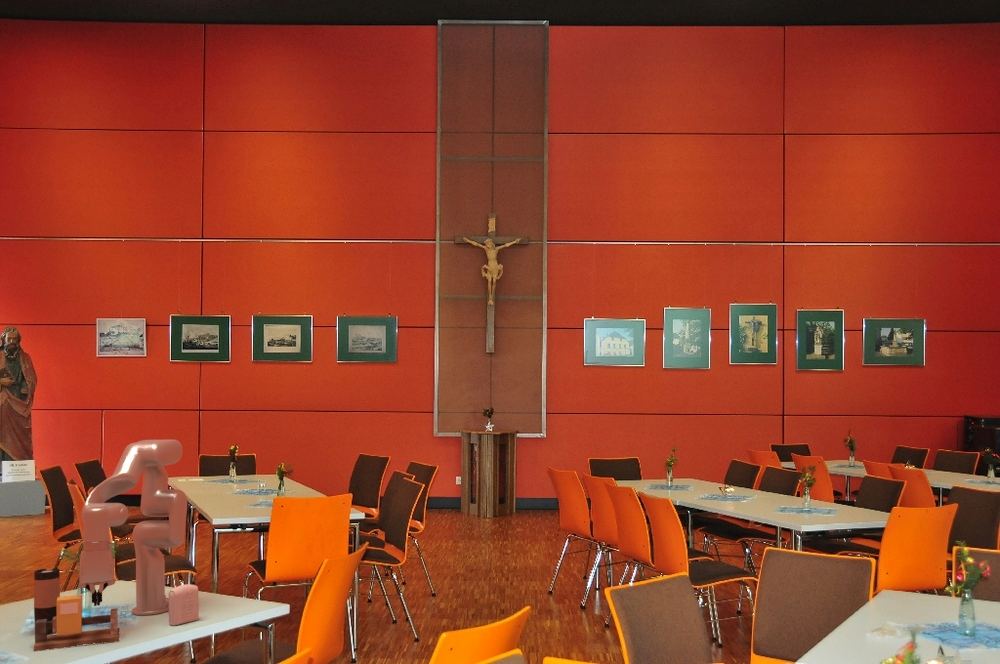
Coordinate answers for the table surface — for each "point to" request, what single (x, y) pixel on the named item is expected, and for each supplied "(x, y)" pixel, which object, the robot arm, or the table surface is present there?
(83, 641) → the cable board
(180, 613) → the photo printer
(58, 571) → the travel mug
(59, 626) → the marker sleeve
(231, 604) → the table surface
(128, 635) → the table surface
